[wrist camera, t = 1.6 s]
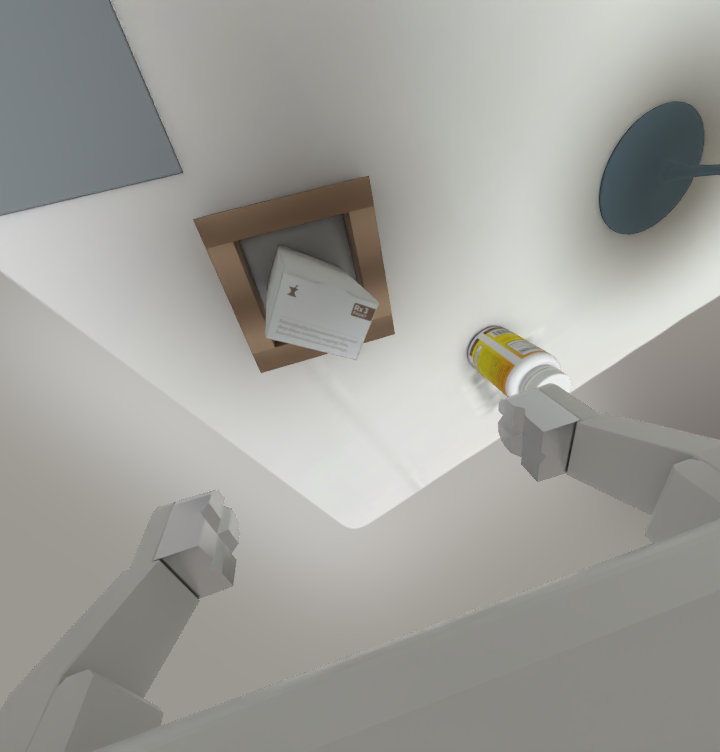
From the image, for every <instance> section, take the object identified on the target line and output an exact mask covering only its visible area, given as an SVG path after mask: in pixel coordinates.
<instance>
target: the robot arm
mask: <svg viewBox="0 0 720 752" xmlns="http://www.w3.org/2000/svg"><path fill="white" fill-rule="evenodd" d="M499 412H500V413H501V414H502V415H503V416H502V418H501V419H500V421H499V422H498V432H499V434H500V437H501V440H502V442H503V443H504V445H505V447H506V448H507V449H508V450H509V451H510V452H511V453H513V454H515V455H517V456H520V457H521V465H522V466H523V467H524V468H525V469H526V470H527V471H528V472H529V473H530V474H531V475H532V477H534V479H535V480H536V481H537V482H539V481H542V480H545V479H549V478H552V477H555V476H558V475H561V474H565V473H567V475H569V476H571V477H573V478H575V479H577V480H579V481H581V482H583V483H585V484H587V485H590V486H592V487H594V488H596V489H598V490H600V491H602V492H604V493H606V494H608V495H610V496H612V497H614V498H617V499H619V500H621V501H623V502H625V503H627V504H629V505H631V506H633V507H635V508H637V509H639V510H642V511H643V512H645V513H647V514H650V515H651V517H650V520H649V522H648V524H647V526H646V528H645V536H646V537H647V538H648V539H649V540H650V541H651V542H652V543H653V544H650V545H647V546H645V547H642V548H639V549H636V550H634V551H631V552H628V553H626V554H623V555H620V556H618V557H615V558H612V559H609V560H607V561H604V562H601V563H599V564H596V565H593V566H591V567H588V568H586V569H582V570H580V571H577V572H574V573H572V574H569V575H566V576H564V577H561V578H558V579H555V580H553V581H551V582H547V583H545V584H542V585H539V586H536V587H534V588H531V589H528V590H526V591H523V592H520V593H518V594H515V595H512V596H509V597H507V598H504V599H501V600H499V601H496V602H493V603H491V604H488V605H485V606H482V607H480V608H477V609H474V610H472V611H469V612H467V613H464V614H461V615H458V616H455V617H453V618H450V619H447V620H445V621H442V622H439V623H437V624H434V625H431V626H428V627H426V628H423V629H420V630H418V631H415V632H412V633H410V634H407V635H404V636H402V637H399V638H396V639H393V640H391V641H388V642H385V643H382V644H380V645H377V646H374V647H372V648H369V649H366V650H364V651H361V652H358V653H356V654H353V655H350V656H348V657H345V658H342V659H339V660H337V661H334V662H331V663H328V664H326V665H323V666H320V667H318V668H315V669H312V670H310V671H307V672H304V673H302V674H299V675H296V676H293V677H291V678H288V679H286V680H283V681H280V682H277V683H275V684H272V685H269V686H266V687H264V688H261V689H258V690H256V691H253V692H250V693H248V694H245V695H242V696H240V697H237V698H234V699H231V700H229V701H226V702H223V703H221V704H218V705H215V706H213V707H210V708H208V709H205V710H202V711H199V712H197V713H194V714H191V715H188V716H186V717H183V718H180V719H177V720H175V721H172V722H170V723H167V724H164V725H161V722H162V718H163V711H162V710H161V708H160V707H159V706H157V705H155V704H153V703H151V702H149V701H147V700H146V699H144V697H145V695H146V693H147V691H148V690H149V688H150V686H151V685H152V683H153V681H154V679H155V678H156V676H157V674H158V672H159V671H160V669H161V667H162V665H163V664H164V662H165V660H166V658H167V657H168V655H169V653H170V652H171V650H172V648H173V646H174V645H175V643H176V641H177V639H178V637H179V636H180V634H181V632H182V630H183V629H184V627H185V625H186V624H187V622H188V620H189V618H190V617H191V615H192V613H193V612H194V610H195V608H196V606H197V605H198V603H199V599H200V598H202V597H205V596H208V595H211V594H213V593H216V592H219V591H221V590H224V589H227V588H229V587H232V586H233V582H234V574H235V567H236V559H235V557H234V556H233V555H232V552H233V551H234V549H235V548H236V546H237V545H238V543H239V542H238V541H239V524H238V520H237V518H236V515H235V513H234V511H233V510H232V508H229V507H226V506H224V505H223V504H224V499H225V498H224V497H223V495H222V494H221V493H220V491H219V490H213V491H210V492H207V493H203V494H199V495H196V496H193V497H189V498H186V499H182V500H179V501H177V502H174V503H170V504H167V505H163V506H160V507H158V508H157V509H156V510H155V511H154V512H153V513H152V516H151V519H150V521H149V523H148V525H147V528H146V530H145V533H144V535H143V538H142V540H141V542H140V545H139V547H138V549H137V552H136V554H135V557H134V559H133V562H132V564H131V566H130V569H129V570H126V571H124V572H122V573H121V574H120V575H119V577H118V578H116V580H115V581H114V582H113V583H112V584H111V585H110V586H109V587H108V588H107V589H106V590H105V592H104V593H103V594H102V595H101V596H100V597H99V598H98V599H97V600H96V601H95V602H94V603H93V605H91V607H90V608H89V609H88V610H87V611H86V612H85V613H84V614H83V615H82V616H81V617H80V618H79V620H78V621H77V622H76V623H75V624H74V625H73V626H72V627H71V628H70V629H69V630H68V631H67V632H66V634H65V635H64V636H63V637H62V638H61V639H60V640H59V641H58V642H57V643H56V645H54V647H53V648H52V649H51V650H50V651H49V652H48V653H47V654H46V655H45V656H44V657H43V659H42V660H41V661H40V662H39V663H38V664H37V665H36V666H35V667H34V668H33V669H32V670H31V671H30V673H29V674H28V675H27V676H26V677H25V678H24V679H23V680H22V681H21V682H20V683H19V684H18V686H17V687H16V688H15V689H14V690H13V691H12V692H11V693H10V694H9V696H8V697H7V699H6V701H5V703H4V705H3V706H2V708H1V710H0V752H720V440H717V439H713V438H709V437H705V436H700V435H696V434H692V433H688V432H684V431H680V430H676V429H671V428H667V427H663V426H659V425H655V424H651V423H647V422H642V421H638V420H634V419H630V418H626V417H622V416H617V415H613V414H609V413H603V414H599V413H598V412H596V411H595V410H593V409H592V408H590V407H589V406H587V405H586V404H584V403H583V402H581V401H580V400H578V399H577V398H575V397H574V396H572V395H571V394H569V393H568V392H566V391H565V390H563V389H562V388H560V387H559V386H557V385H556V384H552V383H549V384H546V385H543V386H540V387H537V388H534V389H531V390H528V391H525V392H522V393H519V394H516V395H513V396H510V397H506V398H503V399H501V400H500V402H499Z"/></svg>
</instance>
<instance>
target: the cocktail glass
mask: <svg viewBox="0 0 720 752" xmlns="http://www.w3.org/2000/svg"><path fill="white" fill-rule="evenodd" d="M703 146H704V127H703V122H702V119H701V116H700V115H699V113H698V112H697V110H696V109H695V108H694V107H692V106H691V105H689V104H687V103H684V102H671V103H666V104H663V105H661V106H658V107H656V108H654V109H653V110H651V111H649V112H647V113H646V114H645V115H644V116H642V117H641V118H640V119H639V120H638V121H637V122H636V123H635V124H634V125H633V126H632V127H631V128H630V129H629V130H628V131H627V132H626V134H625V135H624V136H623V137H622V139H621V140H620V142H619V143H618V145H617V146H616V148H615V150H614V152H613V154H612V156H611V157H610V160H609V162H608V164H607V167H606V169H605V172H604V176H603V179H602V183H601V189H600V210H601V213H602V217H603V219H604V221H605V223H606V224H607V225H608V226H609V228H611V229H612V230H613V231H615V232H618V233H621V234H634V233H638V232H641V231H644V230H646V229H648V228H650V227H652V226H653V225H655V224H656V223H658V222H659V221H660V220H662V219H663V218H664V217H665V216H666V215H667V214H668V213H669V212H670V211H671V210H672V209H673V208H674V207H675V206H676V205H677V203H678V202H679V201H680V200H681V198H682V197H683V195H684V194H685V193H686V191H687V189H688V187H689V186H690V184H691V182H692V180H693V178H694V177H698V176H708V175H720V164H719V165H699V163H700V160H701V156H702V152H703Z"/></svg>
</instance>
